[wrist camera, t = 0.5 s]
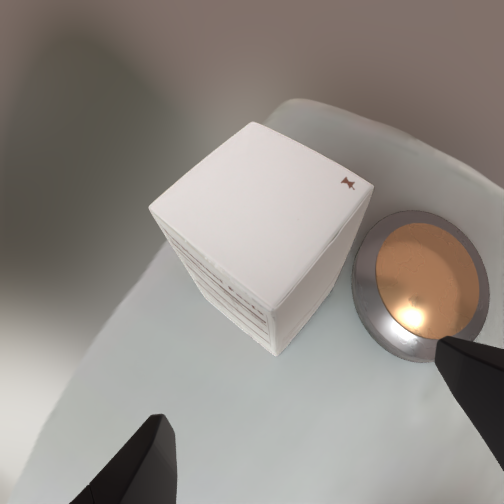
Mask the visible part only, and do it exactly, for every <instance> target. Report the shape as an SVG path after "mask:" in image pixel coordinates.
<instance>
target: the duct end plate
mask: <svg viewBox="0 0 504 504" xmlns="http://www.w3.org/2000/svg"><path fill="white" fill-rule="evenodd" d="M351 281H352V294H353V300H354V304H355V307H356V310H357V313H358V315H359V318H360V319H361V321H362V323H363V325H364V327H365V328H366V330H367V331H368V332H369V334H370V335H371V336H372V338H373V339H374V340H375V341H376V342H377V343H378V344H379V345H380V346H382V347H383V348H384V349H385V350H387V351H388V352H390V353H391V354H393V355H395V356H397V357H399V358H401V359H404V360H408V361H411V362H419V363H427V362H434V361H435V360H434V358H435V351H436V344H437V341H438V340H439V339H440V338H443V337H445V336H452V337H456V338H460V339H464V340H468V341H472V342H473V341H474V340H475V338H476V337H477V336H478V334H479V333H480V331H481V329H482V327H483V325H484V323H485V320H486V317H487V313H488V308H489V297H490V293H489V283H488V277H487V273H486V270H485V267H484V264H483V262H482V259H481V257H480V255H479V253H478V252H477V250H476V248H475V247H474V245H473V244H472V243H471V241H470V240H469V239H468V238H467V237H466V236H465V235H464V234H463V233H462V232H461V231H460V230H459V229H458V228H457V227H456V226H454V225H453V224H451V223H450V222H448V221H447V220H445V219H443V218H441V217H439V216H436V215H434V214H431V213H427V212H422V211H402V212H398V213H394V214H391V215H389V216H387V217H385V218H384V219H382V220H381V221H379V222H378V223H377V224H376V225H375V226H373V227H372V229H371V230H370V231H369V232H368V234H367V235H366V237H365V239H364V241H363V243H362V245H361V247H360V249H359V251H358V253H357V256H356V258H355V261H354V265H353V269H352V278H351Z"/></svg>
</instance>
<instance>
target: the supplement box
mask: <svg viewBox="0 0 504 504" xmlns="http://www.w3.org/2000/svg"><path fill="white" fill-rule="evenodd" d="M373 190H374V185H372V184H371V183H369V182H367V181H366V180H364V179H363V178H361V177H360V176H358V175H357V174H355V173H353V172H352V171H350V170H348V169H347V168H345V167H343V166H342V165H340V164H338V163H336V162H334V161H333V160H331V159H329V158H327V157H325V156H323V155H322V154H320V153H318V152H316V151H314V150H312V149H310V148H308V147H306V146H304V145H303V144H301V143H299V142H297V141H295V140H293V139H291V138H289V137H287V136H285V135H283V134H280V133H278V132H276V131H274V130H272V129H270V128H268V127H266V126H264V125H261V124H259V123H256V122H250V123H249V124H248V125H247V126H245V127H244V128H243V129H241V130H240V131H239V132H237V133H236V134H235V135H233V136H232V137H231V138H230V139H228V140H227V141H226V142H225V143H223V144H222V145H221V146H219V147H218V148H217V149H215V150H214V151H213V152H212V153H210V154H209V155H208V156H207V157H206V158H204V159H203V160H202V161H201V162H200V163H198V164H197V165H196V166H195V167H193V168H192V169H191V170H190V171H189V172H187V173H186V174H185V175H184V176H183V177H182V178H180V179H179V180H178V181H177V182H176V183H175V184H173V185H172V186H171V187H170V188H169V189H167V190H166V191H165V192H164V193H163V194H162V195H161V196H160V197H159V198H157V199H156V200H155V201H154V202H153V203H152V204H151V205H150V206H149V210H150V212H151V213H152V215H153V217H154V218H155V220H156V222H157V223H158V225H159V226H160V228H161V230H162V231H163V233H164V234H165V236H166V238H167V239H168V241H169V243H170V244H171V246H172V247H173V249H174V250H175V252H176V253H177V255H178V256H179V258H180V259H181V261H182V263H183V264H184V266H185V267H186V269H187V270H188V272H189V274H190V275H191V277H192V278H193V280H194V282H195V283H196V285H197V286H198V288H199V289H200V291H201V293H202V294H203V296H204V297H205V298H206V300H208V301H209V302H210V303H211V304H212V305H214V306H215V307H216V308H217V309H218V310H219V311H221V312H222V313H223V314H224V315H225V316H226V317H228V318H229V319H230V320H231V321H232V322H233V323H235V324H236V325H237V326H238V327H239V328H241V329H242V330H243V331H244V332H245V333H247V334H248V335H249V336H250V337H251V338H253V339H254V340H255V341H256V342H258V343H259V344H260V345H261V346H263V347H264V348H265V349H266V350H268V351H269V352H270V353H271V354H273V355H274V356H276V357H277V356H278V355H279V354H280V353H281V352H282V351H283V350H284V349H285V348H286V347H287V346H288V344H289V343H290V342H291V341H292V340H293V339H294V337H295V336H296V335H297V334H298V333H299V331H300V330H301V329H302V328H303V327H304V325H305V324H306V323H307V322H308V321H309V319H310V318H311V317H312V315H313V314H314V313H315V312H316V310H317V309H318V308H319V306H320V305H321V304H322V302H323V301H324V300H325V298H326V297H327V296H328V294H329V293H330V292H331V290H332V289H333V287H334V285H335V282H336V280H337V278H338V276H339V273H340V271H341V269H342V267H343V264H344V262H345V260H346V258H347V255H348V253H349V251H350V248H351V246H352V243H353V241H354V239H355V236H356V234H357V232H358V229H359V227H360V224H361V222H362V219H363V217H364V214H365V211H366V209H367V206H368V204H369V201H370V198H371V196H372V193H373Z"/></svg>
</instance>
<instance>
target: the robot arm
mask: <svg viewBox="0 0 504 504" xmlns="http://www.w3.org/2000/svg"><path fill="white" fill-rule="evenodd" d="M434 360H435V364H436V366H437V368H438V370H439V371H440V373H441V375H442V377H443V378H444V380H445V382H446V384H447V385H448V387H449V389H450V391H451V392H452V394H453V396H454V397H455V399H456V400H457V402H458V403H459V405H460V406H461V407H462V409H463V410H464V412H465V413H466V414H467V416H468V417H469V419H470V420H471V422H472V423H473V425H474V426H475V428H476V429H477V430H478V432H479V433H480V435H481V436H482V438H483V439H484V441H485V442H486V444H487V446H488V447H489V449H490V450H491V452H492V453H493V455H494V456H495V458H496V460H497V461H498V463H499V464H500V466H501V468H502V469H503V471H504V349H501V348H497V347H493V346H488V345H484V344H480V343H476V342H472V341H468V340H464V339H460V338H456V337H452V336H445V337H443V338H440V339H439V340H438V341H437V344H436V351H435V358H434ZM176 494H177V461H176V443H175V433H174V430H173V428H172V427H171V425H170V423H169V421H168V420H167V418H166V416H165V415H164V414H153V415H151V416H150V417H149V418H148V419H147V420H146V421H145V422H144V423H143V424H142V426H141V427H140V428H139V429H138V430H137V431H136V432H135V434H134V435H133V436H132V437H131V438H130V439H129V440H128V441H127V442H126V444H125V445H124V446H123V447H122V448H121V449H120V450H119V451H118V453H117V454H116V455H115V456H114V457H113V458H112V459H111V460H110V461H109V462H108V464H107V465H106V466H105V467H104V468H103V469H102V470H101V471H100V472H99V473H98V474H97V476H96V477H95V478H94V479H93V480H92V481H91V482H90V483H89V485H87V486H86V487H85V488H84V489H83V490H82V492H81V493H80V494H79V495H78V496H77V497H76V498H75V499H74V500H73V501H72V502H70V503H69V504H176Z"/></svg>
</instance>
